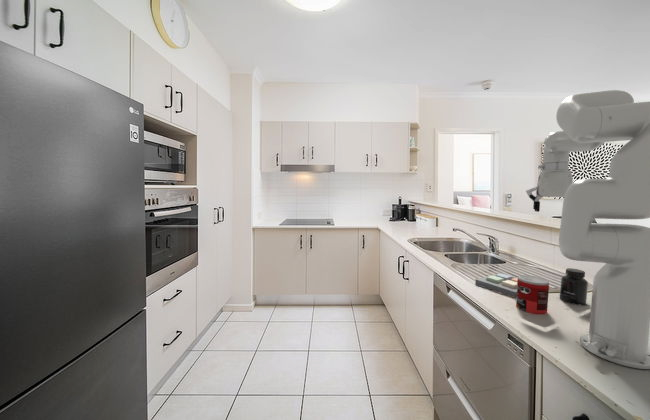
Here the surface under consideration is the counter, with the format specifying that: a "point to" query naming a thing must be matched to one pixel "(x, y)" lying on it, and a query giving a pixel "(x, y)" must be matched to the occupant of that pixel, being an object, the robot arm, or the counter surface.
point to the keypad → (496, 286)
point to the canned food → (532, 294)
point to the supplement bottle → (574, 287)
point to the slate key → (505, 276)
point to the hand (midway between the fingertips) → (552, 211)
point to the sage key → (495, 279)
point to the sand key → (510, 284)
